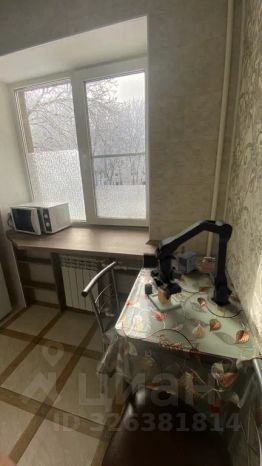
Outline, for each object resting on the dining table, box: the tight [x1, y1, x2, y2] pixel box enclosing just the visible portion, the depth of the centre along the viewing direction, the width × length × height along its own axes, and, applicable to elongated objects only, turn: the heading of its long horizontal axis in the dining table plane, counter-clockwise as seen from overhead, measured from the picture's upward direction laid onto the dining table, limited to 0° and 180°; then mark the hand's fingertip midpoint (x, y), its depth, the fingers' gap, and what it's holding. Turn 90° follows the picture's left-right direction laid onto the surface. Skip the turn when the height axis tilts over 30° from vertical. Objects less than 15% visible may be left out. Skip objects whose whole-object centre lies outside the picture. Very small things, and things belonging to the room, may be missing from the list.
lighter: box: [201, 256, 215, 275], centre depth 124 cm, size 8×3×10 cm, turn 77°
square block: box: [157, 285, 171, 304], centre depth 100 cm, size 5×5×7 cm
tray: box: [148, 292, 182, 313], centre depth 101 cm, size 12×11×1 cm
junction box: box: [150, 277, 180, 290], centre depth 115 cm, size 7×13×6 cm, turn 112°
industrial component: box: [176, 244, 186, 259], centre depth 138 cm, size 9×7×12 cm
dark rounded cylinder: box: [144, 283, 153, 296], centre depth 108 cm, size 4×4×4 cm
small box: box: [177, 250, 197, 275], centre depth 128 cm, size 11×6×10 cm, turn 134°
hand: (164, 296), depth 100 cm, fingers open, 5 cm apart
